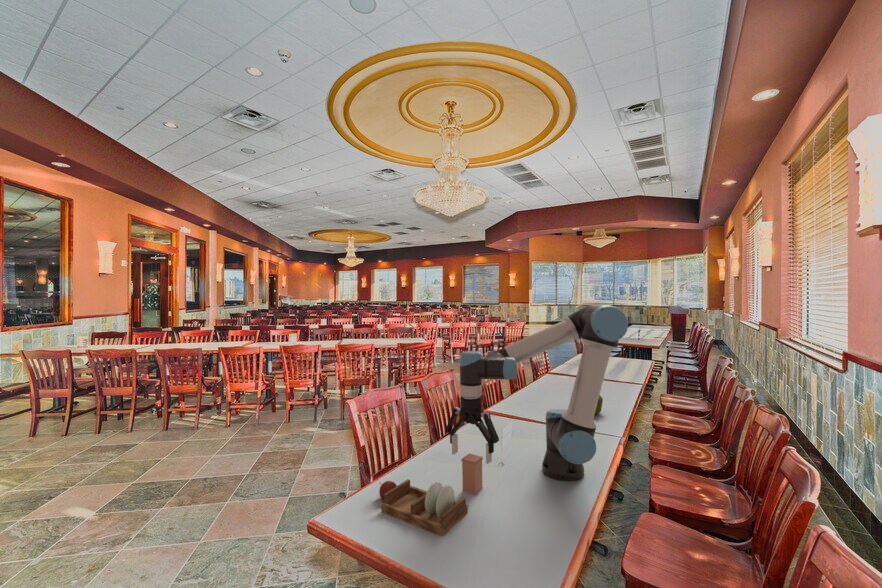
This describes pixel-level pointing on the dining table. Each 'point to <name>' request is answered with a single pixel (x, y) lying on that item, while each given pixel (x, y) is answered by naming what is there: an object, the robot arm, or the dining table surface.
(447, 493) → the plates
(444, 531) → the rack
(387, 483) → the fruit
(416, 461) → the dining table surface
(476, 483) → the tall tan box
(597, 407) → the apple
